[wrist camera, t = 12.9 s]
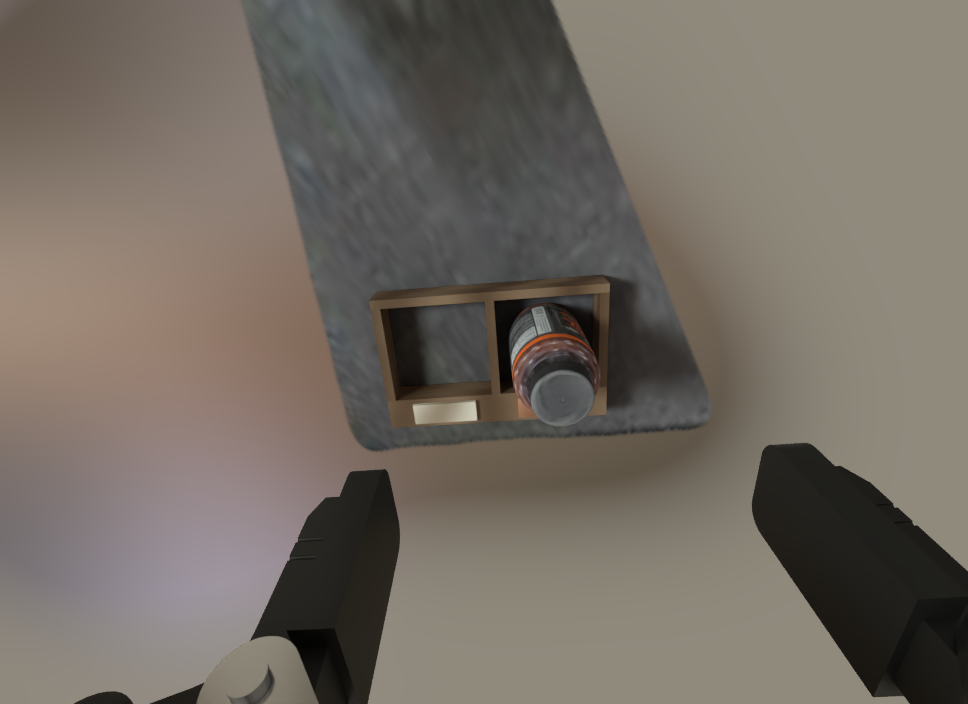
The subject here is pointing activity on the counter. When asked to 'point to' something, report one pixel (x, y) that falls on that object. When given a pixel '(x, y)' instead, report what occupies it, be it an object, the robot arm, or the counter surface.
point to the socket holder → (495, 395)
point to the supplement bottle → (553, 365)
